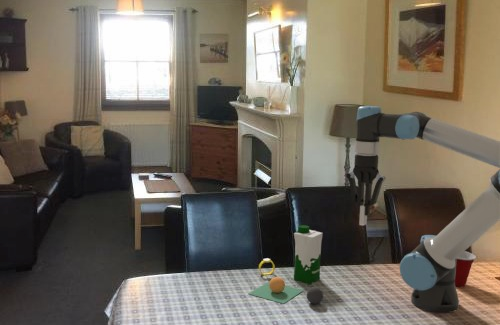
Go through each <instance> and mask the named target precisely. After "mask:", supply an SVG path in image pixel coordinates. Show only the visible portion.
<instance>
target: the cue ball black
mask: <svg viewBox="0 0 500 325" xmlns="http://www.w3.org/2000/svg"><path fill="white" fill-rule="evenodd" d="M306 299H307V301H308V302H310V304H313V305H318V304H320V303H321V302H322V301H323V299H324V292H323V290H322V289H321V288H319V286H318V287H317V286H313V287H310V288H309V289H308V290H307V292H306Z"/></svg>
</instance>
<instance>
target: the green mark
mask: <svg viewBox="0 0 500 325" xmlns="http://www.w3.org/2000/svg"><path fill="white" fill-rule="evenodd" d="M269 283H270V280H269V281H268V282H266V283H264V284H262V285H260V286H259V287H257V288H256V289H253V290H252V291H250V292H248V295H250V296H252V297H253V296H254V297H258V298H261V299H265V300H268V301H272V302H276V303H279V304H281V305H284V304H285V303H287V302H289V301H290V300H292V299H293V298H295V297H296V296H298V295H299V294H301V293H302V292H304V289H301V288H296V287H293V286H288V285H286V284H285V288H284V290H283V291H282V292H280V293H274V292H272V291H271V289H270V287H269Z"/></svg>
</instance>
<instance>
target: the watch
mask: <svg viewBox="0 0 500 325" xmlns="http://www.w3.org/2000/svg"><path fill="white" fill-rule="evenodd" d="M265 263H266V264H267V263H271V264H272V268H271V270H270V272H262V270H261V269H262V265H263V264H265ZM275 269H276V266H275V264H274V262H273V261H272V260H271V258H268V257H267V258H263V259H262V260H261V262H260V263H259V264H258V271H259V273H260V274H261V275H262V276H270V275H272V274H274V271H275Z"/></svg>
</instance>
